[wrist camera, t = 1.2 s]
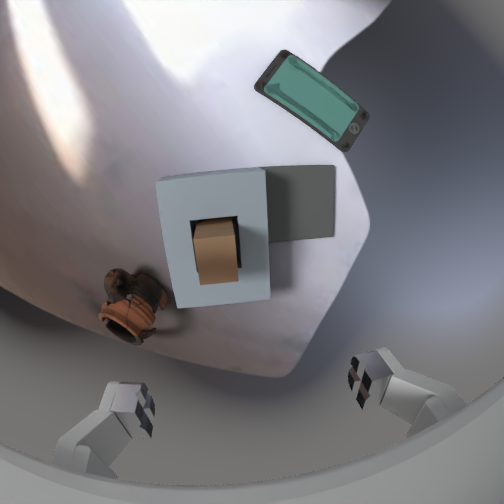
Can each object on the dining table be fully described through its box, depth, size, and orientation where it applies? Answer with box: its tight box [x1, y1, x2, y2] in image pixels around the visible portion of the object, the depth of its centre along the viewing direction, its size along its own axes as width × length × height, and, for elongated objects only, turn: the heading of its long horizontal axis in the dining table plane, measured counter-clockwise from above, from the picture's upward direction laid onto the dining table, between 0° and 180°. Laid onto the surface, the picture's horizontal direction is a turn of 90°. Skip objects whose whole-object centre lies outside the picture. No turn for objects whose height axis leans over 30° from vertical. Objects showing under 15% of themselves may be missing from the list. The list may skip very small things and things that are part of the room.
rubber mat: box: [259, 165, 334, 243], centre depth 35 cm, size 10×10×1 cm
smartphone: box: [254, 50, 370, 152], centre depth 30 cm, size 7×1×15 cm
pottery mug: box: [99, 269, 167, 345], centre depth 35 cm, size 12×10×8 cm
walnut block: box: [193, 216, 239, 285], centre depth 31 cm, size 5×4×9 cm
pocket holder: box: [155, 167, 270, 308], centre depth 33 cm, size 16×12×5 cm
